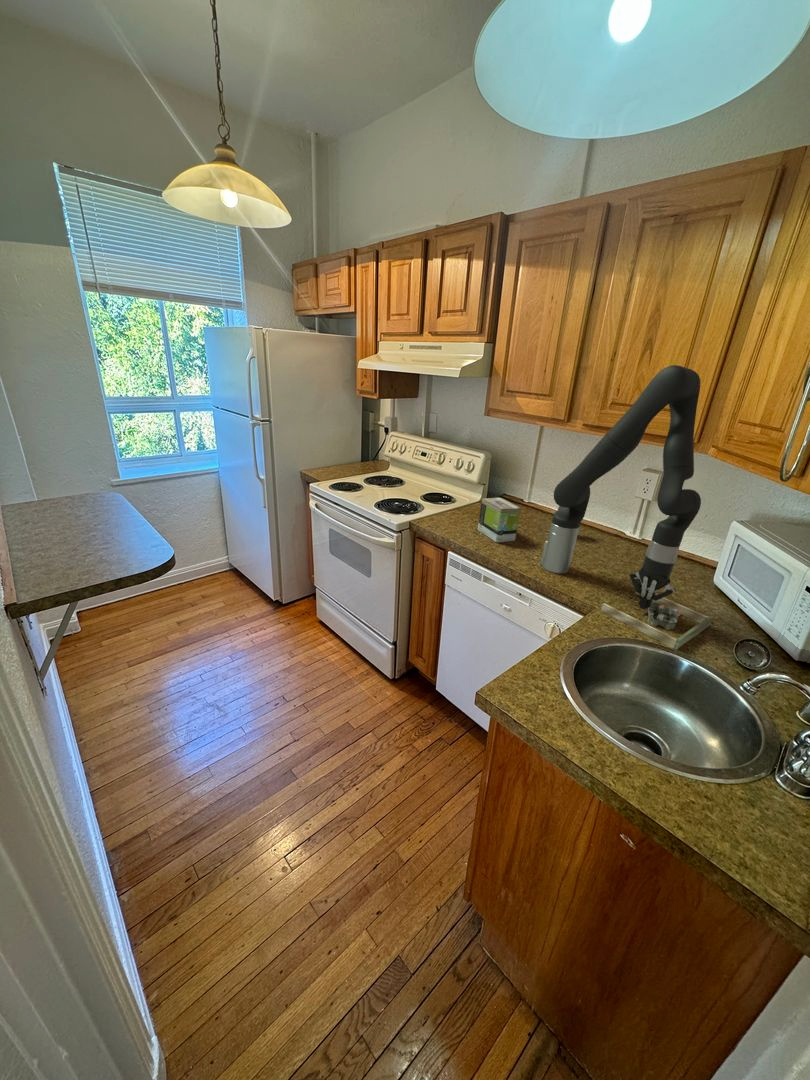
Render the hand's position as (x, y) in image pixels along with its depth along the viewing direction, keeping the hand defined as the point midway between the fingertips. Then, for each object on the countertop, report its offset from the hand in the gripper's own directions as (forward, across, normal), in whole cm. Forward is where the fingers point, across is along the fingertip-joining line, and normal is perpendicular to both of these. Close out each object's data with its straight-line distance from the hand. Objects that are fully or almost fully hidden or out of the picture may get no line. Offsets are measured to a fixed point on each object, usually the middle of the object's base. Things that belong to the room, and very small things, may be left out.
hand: (643, 608), depth 128 cm
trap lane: (+2, +3, 0) cm, 4 cm away
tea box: (+2, -66, +6) cm, 66 cm away
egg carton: (+2, +5, +1) cm, 6 cm away
